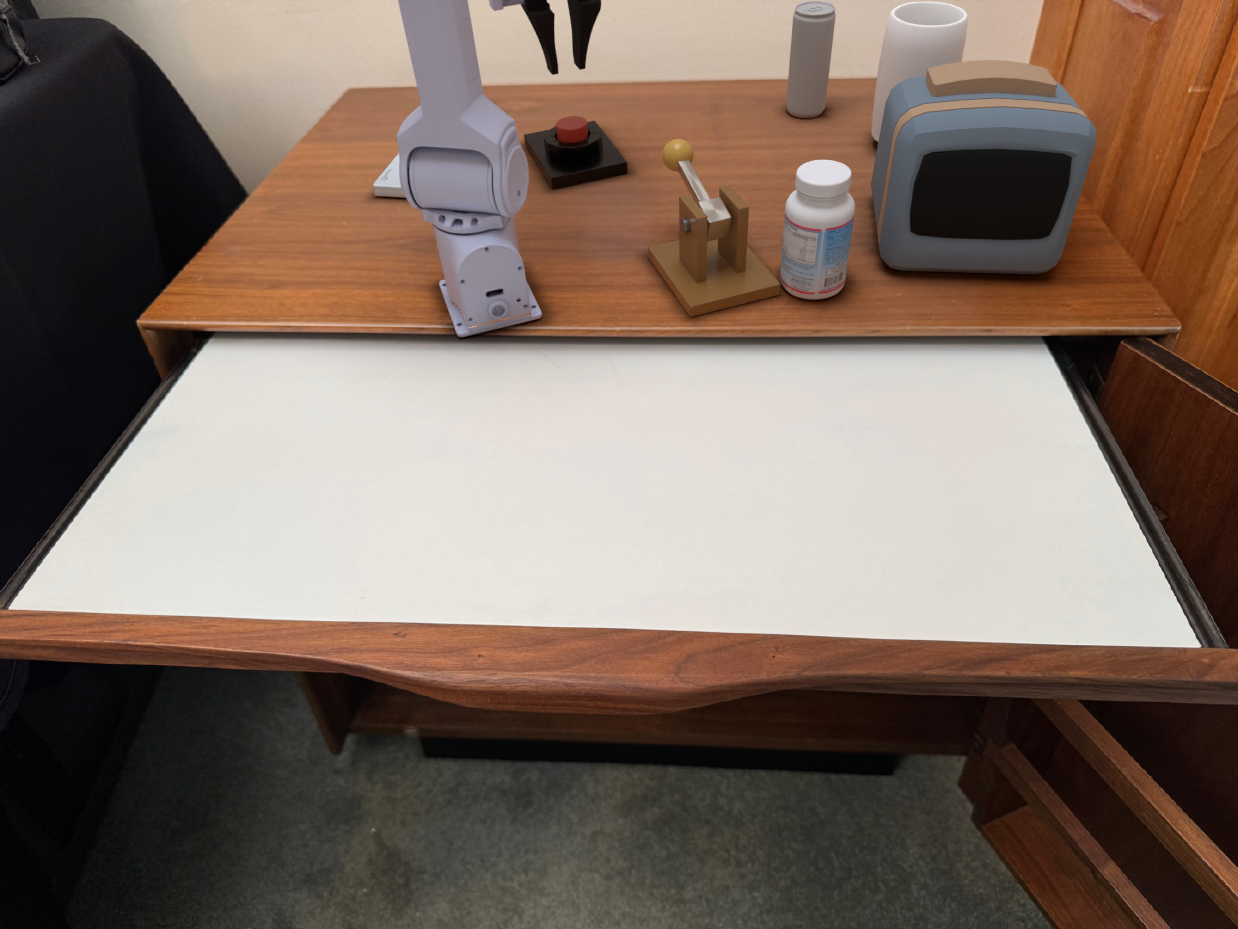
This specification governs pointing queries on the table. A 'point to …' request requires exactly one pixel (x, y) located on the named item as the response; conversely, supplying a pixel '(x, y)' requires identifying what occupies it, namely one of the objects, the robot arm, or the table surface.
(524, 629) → the table surface
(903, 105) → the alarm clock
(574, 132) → the button
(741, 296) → the bracket
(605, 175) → the button block
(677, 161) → the tap lever
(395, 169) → the hard drive
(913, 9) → the cup
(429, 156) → the robot arm
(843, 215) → the pill bottle
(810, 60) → the beverage can
